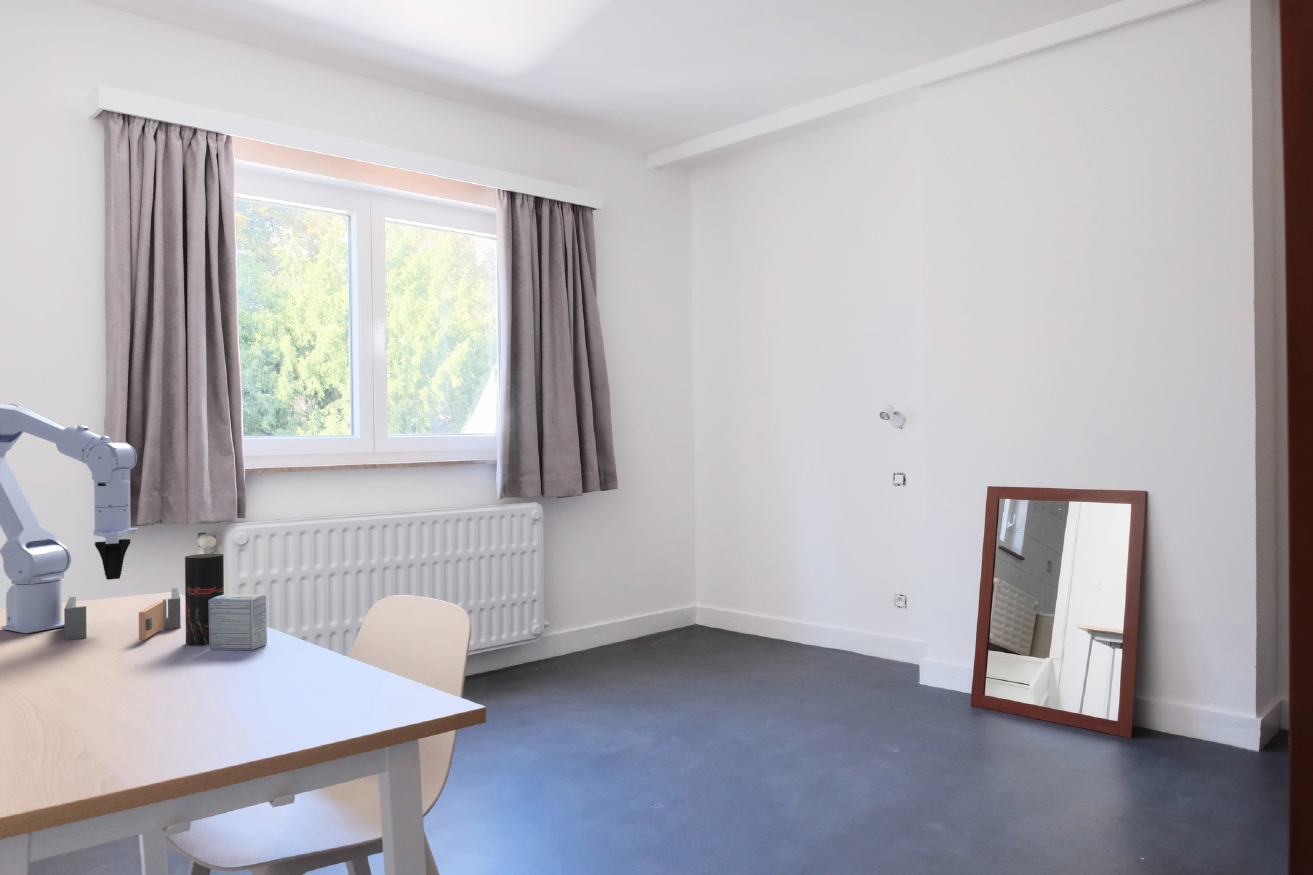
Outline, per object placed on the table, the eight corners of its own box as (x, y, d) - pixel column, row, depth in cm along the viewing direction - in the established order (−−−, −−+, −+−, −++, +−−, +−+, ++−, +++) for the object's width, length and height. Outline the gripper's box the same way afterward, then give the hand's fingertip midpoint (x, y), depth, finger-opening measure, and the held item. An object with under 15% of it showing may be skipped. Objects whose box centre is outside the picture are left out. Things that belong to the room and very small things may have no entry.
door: (138, 639, 150) (138, 612, 150) (157, 627, 160) (157, 601, 160) (149, 639, 150) (148, 611, 150) (167, 626, 160) (167, 601, 160)
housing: (69, 626, 165) (69, 597, 165) (177, 615, 174) (177, 587, 174) (64, 639, 153) (64, 608, 153) (180, 627, 162) (180, 598, 162)
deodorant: (212, 645, 147) (212, 557, 147) (178, 646, 147) (177, 558, 147) (230, 637, 153) (230, 553, 153) (197, 638, 153) (196, 553, 153)
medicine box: (267, 644, 147) (267, 594, 148) (253, 651, 143) (252, 598, 143) (224, 644, 148) (223, 593, 148) (208, 650, 144) (207, 598, 144)
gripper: (137, 507, 158) (138, 581, 158) (137, 503, 170) (138, 571, 170) (91, 509, 154) (92, 585, 154) (94, 504, 166) (95, 575, 166)
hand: (113, 578), depth 162 cm, fingers closed
